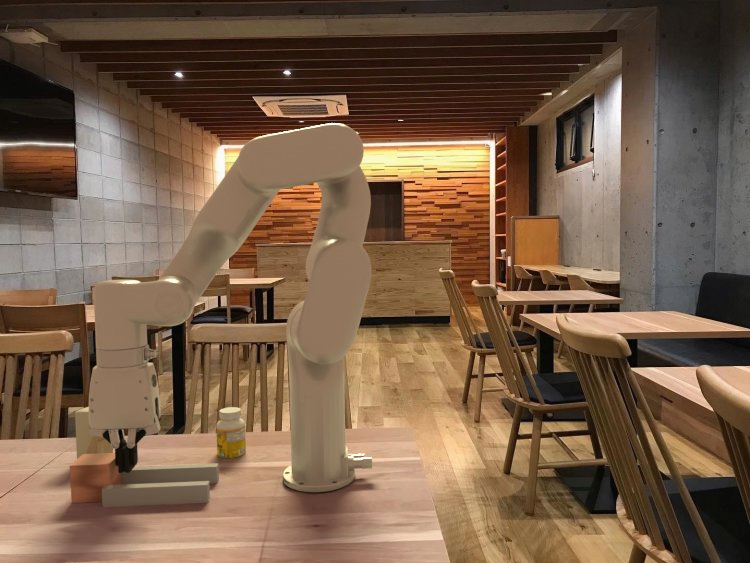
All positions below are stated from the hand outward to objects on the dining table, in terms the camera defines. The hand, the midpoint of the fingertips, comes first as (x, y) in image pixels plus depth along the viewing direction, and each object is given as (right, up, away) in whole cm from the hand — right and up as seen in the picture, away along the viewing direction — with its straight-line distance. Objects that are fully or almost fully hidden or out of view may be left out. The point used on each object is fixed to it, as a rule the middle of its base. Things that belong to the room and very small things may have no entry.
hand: (127, 469), depth 95 cm
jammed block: (-5, -4, 0) cm, 6 cm away
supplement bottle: (+12, -4, +18) cm, 22 cm away
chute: (+2, -5, +1) cm, 6 cm away
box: (-12, -5, +16) cm, 20 cm away
